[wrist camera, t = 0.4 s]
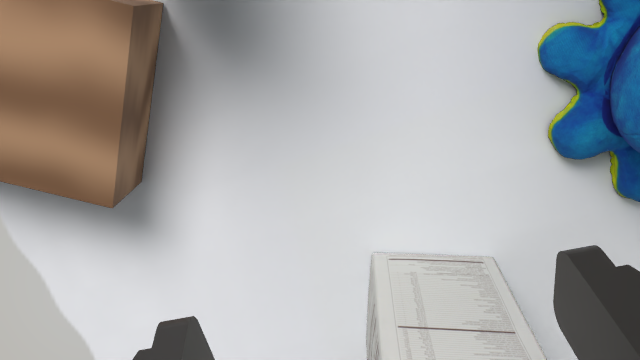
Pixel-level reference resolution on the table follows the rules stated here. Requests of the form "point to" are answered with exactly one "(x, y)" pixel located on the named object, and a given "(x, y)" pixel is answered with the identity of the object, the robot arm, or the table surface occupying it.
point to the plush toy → (600, 90)
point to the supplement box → (444, 310)
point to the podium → (76, 95)
